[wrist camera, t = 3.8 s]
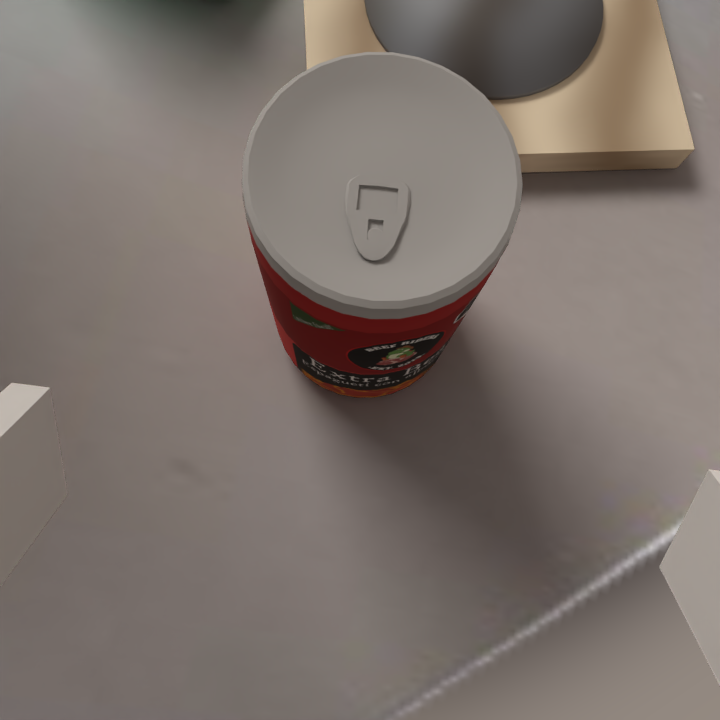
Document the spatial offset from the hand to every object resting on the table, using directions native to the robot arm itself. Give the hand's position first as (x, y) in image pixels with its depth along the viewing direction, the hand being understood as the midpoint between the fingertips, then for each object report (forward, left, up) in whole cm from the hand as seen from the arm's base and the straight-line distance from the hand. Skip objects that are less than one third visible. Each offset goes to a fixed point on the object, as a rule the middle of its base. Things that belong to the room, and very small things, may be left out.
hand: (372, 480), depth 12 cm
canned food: (+1, +8, -12) cm, 15 cm away
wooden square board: (+8, +24, -12) cm, 28 cm away
